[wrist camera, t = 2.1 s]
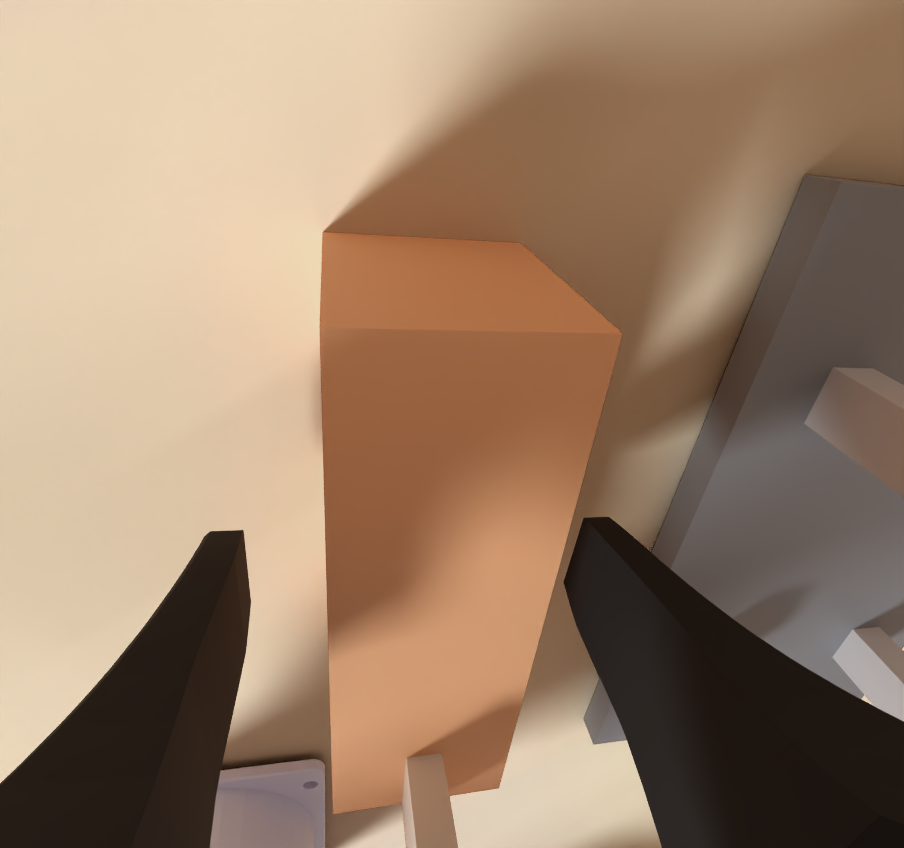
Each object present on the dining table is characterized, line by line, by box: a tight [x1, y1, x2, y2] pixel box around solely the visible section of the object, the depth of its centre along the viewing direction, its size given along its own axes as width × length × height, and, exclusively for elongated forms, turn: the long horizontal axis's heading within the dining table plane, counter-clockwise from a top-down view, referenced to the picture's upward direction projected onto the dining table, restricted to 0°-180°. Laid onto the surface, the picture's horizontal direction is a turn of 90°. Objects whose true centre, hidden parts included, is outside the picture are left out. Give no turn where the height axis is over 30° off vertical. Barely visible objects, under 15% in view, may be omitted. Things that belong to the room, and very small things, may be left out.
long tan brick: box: [320, 232, 623, 848], centre depth 11 cm, size 12×4×7 cm, turn 174°
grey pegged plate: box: [584, 174, 904, 744], centre depth 17 cm, size 20×12×4 cm, turn 173°
